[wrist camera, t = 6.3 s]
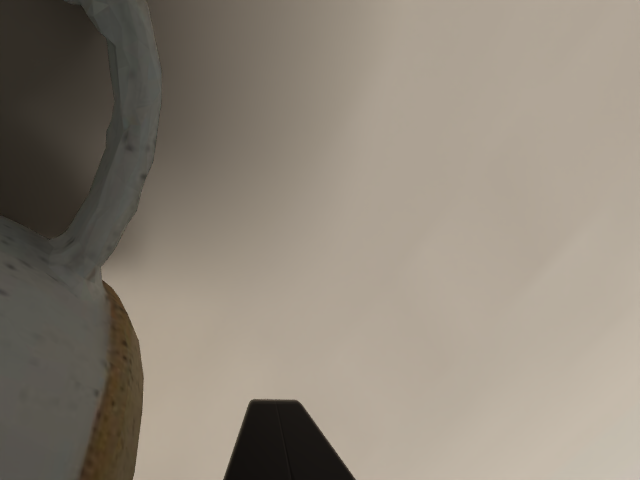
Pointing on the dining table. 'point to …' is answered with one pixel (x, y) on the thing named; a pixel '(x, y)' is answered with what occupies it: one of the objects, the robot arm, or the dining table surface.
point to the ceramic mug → (81, 293)
